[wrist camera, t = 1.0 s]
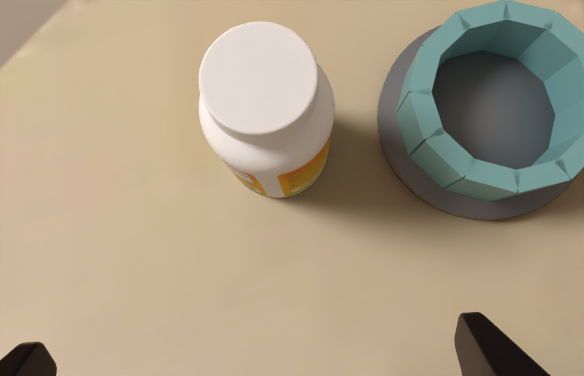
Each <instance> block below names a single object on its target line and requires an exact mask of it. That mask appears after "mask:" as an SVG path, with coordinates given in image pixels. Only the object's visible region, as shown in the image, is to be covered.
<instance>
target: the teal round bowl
mask: <svg viewBox="0 0 584 376" xmlns="http://www.w3.org/2000/svg"><path fill="white" fill-rule="evenodd" d="M555 12H556V11H553V10H549V9H545V8H541V7H536V6H532V5H528V4H523V3H519V2H515V1H511V0H506V1H505V0H501V1H497V2H493V3H489V4H484V5H480V6H476V7H472V8H468V9H464V10H460V11H457V13H456V12H455V13H454V14H453V15H452V16H451V17H450V18H449V19H448V20H447V21H446V22H445V23H444V24H442V25H440V26H438V27H436V28H434V29H432V30H429V31H428V32H426V33H425V34H423V35H421V36H420V37H418V38H417V39H416V40H415V41H413V42H412V43H411V44H410V45H409V46H408V47H407V48H406V49H405V50H404V51H403V52H402V53H401V54H400V55H399V57H398V58H397V60H396V61H395V63H394V64H393V66H392V68H391V70H390V71H389V73H388V75H387V78H386V80H385V82H384V85H383V88H382V91H381V94H380V99H379V104H378V116H377V120H378V132H379V136H380V141H381V145H382V147H383V150H384V153H385V156H386V157H387V159H388V161H389V163H390V165H391V167H392V169H393V170H394V171H395V173H396V174H397V176H398V177H399V179H400V180H401V181H402V182H403V183H404V184H405V185H406V186H407V187H408V188H409V189H410V190H411V191H412V192H413V193H414V194H416V195H417V196H418V197H419V198H421V199H422V200H424V201H425V202H427V203H428V204H430V205H431V206H433V207H435V208H437V209H440V210H442V211H444V212H447V213H450V214H452V215H455V216H459V217H464V218H469V219H478V220H495V219H503V218H508V217H514V216H518V215H522V214H525V213H528V212H531V211H534V210H536V209H538V208H540V207H542V206H544V205H546V204H547V203H549V202H550V201H552V200H554V199H555V198H557V197H558V196H559V195H560V194H561V193H562V192H563V191H564V190H566V189H567V188H568V186H569V185H570V184H571V183H572V182H573V180H574V179H575V178H576V176H577V175H578V173H579V172H580V170H581V169H582V168H583V167H584V33H582V32H581V31H580V30H579V29H578V28H576V27H575V26H574V25H573V24H571V23H570V22H569V21H568V20H567V19H565V18H564V17H563V16H562V15H561V14H559V13H558V12H557V13H556V14H555Z"/></svg>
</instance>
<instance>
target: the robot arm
mask: <svg viewBox="0 0 584 376" xmlns="http://www.w3.org/2000/svg"><path fill="white" fill-rule="evenodd" d="M455 348H456V352H457V356H458V360H459V363H460V367H461V371H462V375H463V376H550V375H549V374H548V373H547V372H546V371H545V370H544V369H543V368H542V367H541V366H539V365H538V364H537V363H536V362H535V361H534V360H533V359H532V358H531V357H529V356H528V355H527V354H526V353H525V352H524V351H523V350H522V349H521V348H520V347H518V346H517V345H516V344H515V343H514V342H513V341H512V340H511V339H510V338H509V337H507V336H506V335H505V334H504V333H503V332H502V331H501V330H500V329H499V328H498V327H496V326H495V325H494V324H493V323H492V322H491V321H490V320H489V319H488V318H487V317H485V316H484V315H483V314H481V313H479V312H470V313H462V314H460V316H459V318H458V323H457V328H456V333H455ZM56 373H57V367H56V363H55V361H54V360H53V358H52V357H51V355H50V354H49V352H48V350H47V349H46V347H45V346H44V344H43V343H41V342H26V343H21V344H19V345H18V346H16V347H15V348H14V349H13V350H12V351H10V352H9V353H8V354H7V355H6V356H5V357H3V358H2V359H1V360H0V376H56Z"/></svg>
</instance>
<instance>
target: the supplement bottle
mask: <svg viewBox="0 0 584 376" xmlns="http://www.w3.org/2000/svg"><path fill="white" fill-rule="evenodd" d="M199 89H200V93H201V94H200V100H199V116H200V122H201V126H202V129H203V132H204V134H205V137H206V139H207V141H208V142H209V144H210V146H211V147H212V149H213V150H214V152H215V153H216V154H217V155H218V156H219V157H220V158H221V160H222V161H223V162H224V163H225V164H226V165H227V167H228V168H229V169H230V170H231V171H232V172H233V173H234V174H235V176H236V177H237V178H238V179H239V180H240V181H241V182H242V183H243V184H244V185H245V186H246V187H248V188H249V189H251V190H252V191H254V192H256V193H258V194H260V195H264V196H267V197H274V198H281V197H288V196H292V195H295V194H298V193H300V192H302V191H304V190H305V189H307V188H308V187H309V186H311V185H312V184H313V183H314V182H315V181H316V180H317V179H318V177H319V176H320V174H321V173H322V171H323V169H324V166H325V164H326V161H327V157H328V152H329V146H330V140H331V134H332V129H333V124H334V117H335V104H334V96H333V91H332V88H331V85H330V83H329V81H328V79H327V76H326V75H325V73H324V71H323V70H322V68H321V67H320V66H319V65H318V64H317V62H316V58H315V56H314V54H313V52H312V50H311V49H310V47H309V46H308V44H307V43H306V42H305V41H304V40H303V39H302V38H301V37H300V36H299V35H298V34H297V33H295V32H294V31H292V30H291V29H289V28H287V27H285V26H282V25H279V24H276V23H271V22H250V23H245V24H242V25H239V26H236V27H234V28H232V29H230V30H228V31H226V32H225V33H223V34H222V35H221V36H219V37H218V38H217V39H216V40H215V41H214V42H213V44H212V45H211V46H210V47H209V49H208V50H207V52H206V54H205V56H204V58H203V60H202V63H201V67H200V71H199Z"/></svg>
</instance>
